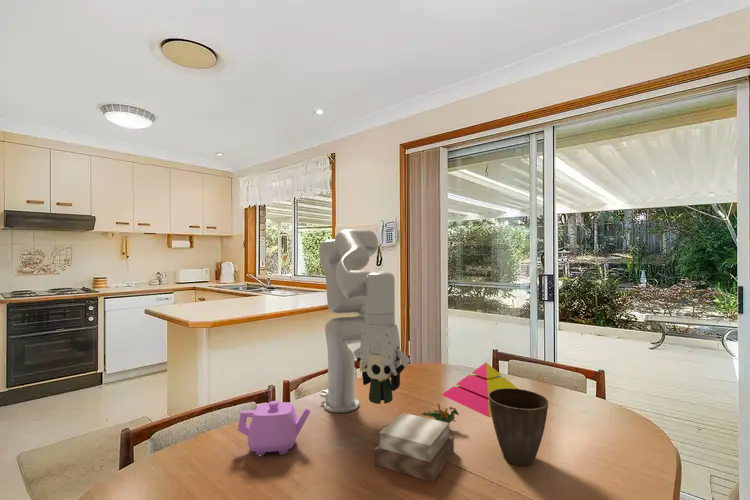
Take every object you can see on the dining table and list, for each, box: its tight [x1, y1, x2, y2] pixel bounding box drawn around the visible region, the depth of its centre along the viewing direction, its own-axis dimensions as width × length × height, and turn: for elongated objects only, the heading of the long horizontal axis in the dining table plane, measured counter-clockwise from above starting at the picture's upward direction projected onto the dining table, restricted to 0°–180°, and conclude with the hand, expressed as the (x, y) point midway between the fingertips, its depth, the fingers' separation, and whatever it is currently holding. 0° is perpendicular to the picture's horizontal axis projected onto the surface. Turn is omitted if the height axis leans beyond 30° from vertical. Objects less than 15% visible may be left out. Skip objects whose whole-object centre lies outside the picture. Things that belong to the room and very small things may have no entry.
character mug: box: [359, 353, 402, 405], centre depth 99 cm, size 11×7×13 cm, turn 97°
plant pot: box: [488, 388, 549, 467], centre depth 100 cm, size 15×15×16 cm
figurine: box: [420, 402, 460, 431], centre depth 117 cm, size 3×12×8 cm, turn 92°
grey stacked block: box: [373, 412, 455, 483], centre depth 101 cm, size 16×16×8 cm
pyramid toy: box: [441, 361, 519, 418], centre depth 142 cm, size 25×25×14 cm
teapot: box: [237, 400, 312, 457], centre depth 107 cm, size 20×12×13 cm, turn 96°
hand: (380, 385), depth 99 cm, fingers closed on character mug, 7 cm apart
